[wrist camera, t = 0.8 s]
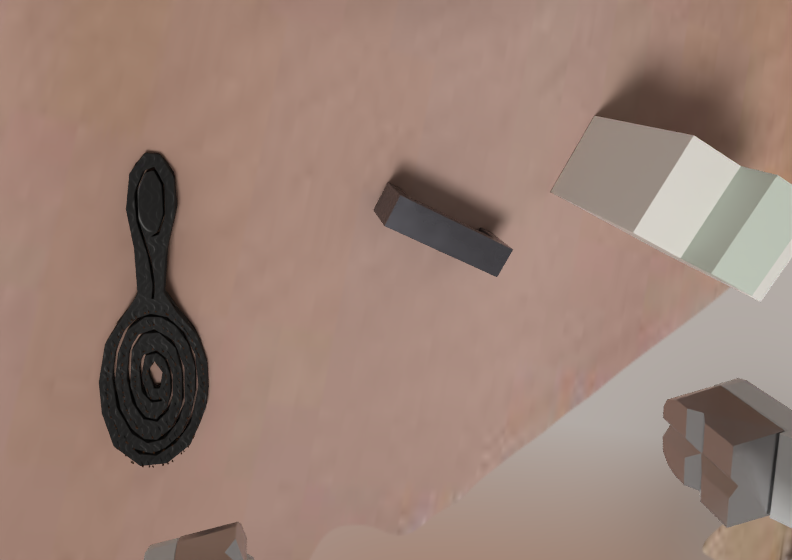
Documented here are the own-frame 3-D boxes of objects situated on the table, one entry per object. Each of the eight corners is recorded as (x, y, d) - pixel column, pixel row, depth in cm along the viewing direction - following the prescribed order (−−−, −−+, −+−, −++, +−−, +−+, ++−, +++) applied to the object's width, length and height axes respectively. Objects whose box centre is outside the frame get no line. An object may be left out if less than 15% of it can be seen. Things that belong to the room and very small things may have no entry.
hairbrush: (211, 162, 40) (203, 471, 48) (215, 156, 44) (207, 445, 51) (79, 150, 38) (92, 474, 46) (94, 145, 42) (104, 447, 49)
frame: (373, 210, 47) (384, 225, 43) (387, 182, 46) (400, 195, 42) (477, 258, 50) (496, 277, 46) (491, 233, 50) (512, 249, 46)
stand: (550, 192, 49) (661, 246, 36) (594, 115, 48) (728, 142, 34) (659, 250, 54) (794, 318, 40) (702, 182, 52) (859, 229, 39)
